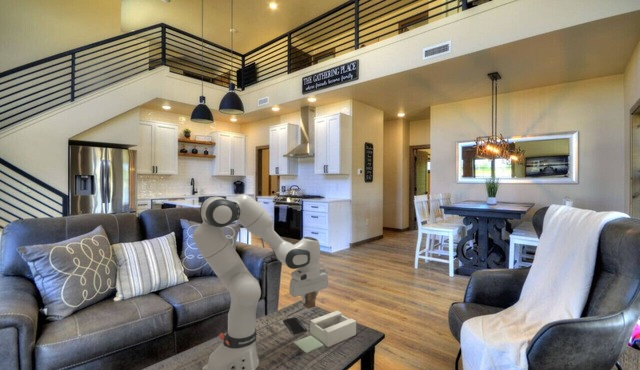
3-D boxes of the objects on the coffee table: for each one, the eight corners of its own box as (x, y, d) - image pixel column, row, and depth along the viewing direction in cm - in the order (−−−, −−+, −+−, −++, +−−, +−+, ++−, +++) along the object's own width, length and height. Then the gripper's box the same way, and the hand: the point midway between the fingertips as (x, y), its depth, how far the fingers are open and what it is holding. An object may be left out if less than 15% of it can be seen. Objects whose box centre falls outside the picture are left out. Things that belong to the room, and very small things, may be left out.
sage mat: (306, 353, 134) (306, 352, 134) (293, 343, 142) (293, 342, 142) (323, 345, 140) (323, 344, 140) (310, 336, 148) (310, 335, 148)
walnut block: (308, 308, 137) (308, 293, 137) (303, 305, 141) (303, 290, 140) (315, 306, 140) (315, 291, 140) (310, 303, 143) (310, 288, 143)
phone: (295, 316, 166) (307, 329, 153) (295, 318, 166) (307, 332, 153) (282, 319, 162) (293, 333, 149) (282, 322, 163) (293, 335, 149)
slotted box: (328, 347, 139) (328, 332, 139) (310, 334, 150) (310, 320, 150) (355, 334, 150) (356, 321, 150) (337, 323, 161) (337, 310, 161)
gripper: (323, 266, 148) (322, 293, 149) (287, 274, 136) (287, 304, 136) (331, 269, 144) (330, 298, 144) (295, 278, 131) (294, 309, 131)
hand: (309, 301), depth 140 cm, fingers closed on walnut block, 4 cm apart
